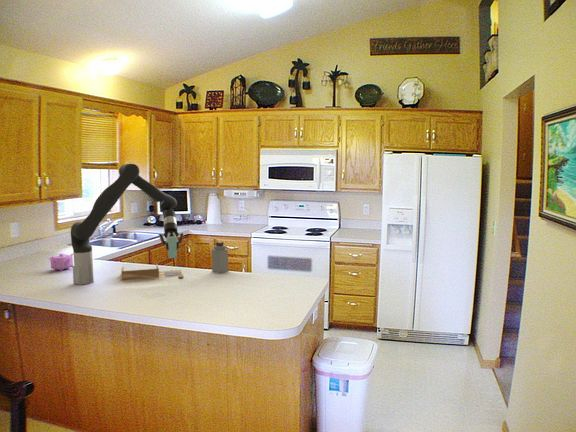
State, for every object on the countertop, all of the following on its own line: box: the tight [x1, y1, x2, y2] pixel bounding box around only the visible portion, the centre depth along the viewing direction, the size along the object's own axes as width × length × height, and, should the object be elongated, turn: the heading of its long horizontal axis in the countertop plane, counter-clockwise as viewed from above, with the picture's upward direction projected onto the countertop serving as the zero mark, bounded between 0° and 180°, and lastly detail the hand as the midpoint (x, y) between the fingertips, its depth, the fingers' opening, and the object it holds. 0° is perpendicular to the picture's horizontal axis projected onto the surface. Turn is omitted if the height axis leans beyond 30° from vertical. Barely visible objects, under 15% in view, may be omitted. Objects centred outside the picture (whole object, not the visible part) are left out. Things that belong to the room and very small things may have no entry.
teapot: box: [47, 252, 74, 272], centre depth 274 cm, size 18×13×10 cm
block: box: [167, 236, 178, 259], centre depth 257 cm, size 4×4×12 cm
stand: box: [119, 263, 184, 282], centre depth 255 cm, size 16×34×6 cm, turn 109°
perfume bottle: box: [211, 241, 229, 274], centre depth 268 cm, size 7×7×18 cm
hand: (172, 249), depth 255 cm, fingers closed on block, 4 cm apart
